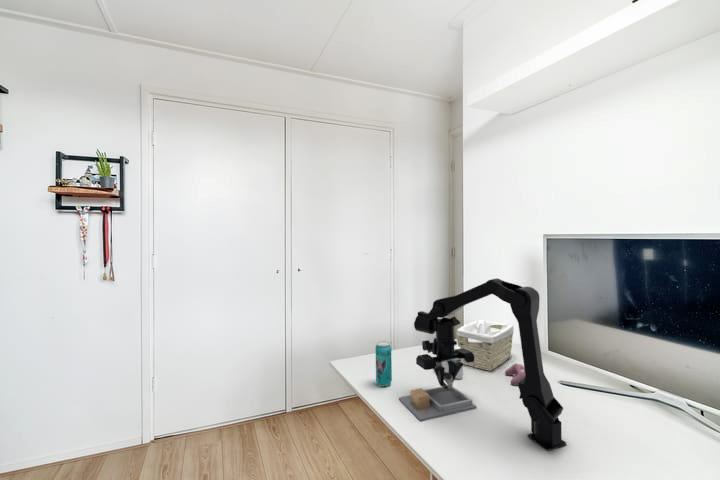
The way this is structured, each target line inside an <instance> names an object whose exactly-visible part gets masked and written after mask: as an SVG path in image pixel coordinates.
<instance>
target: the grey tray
mask: <svg viewBox="0 0 720 480" xmlns="http://www.w3.org/2000/svg"><path fill="white" fill-rule="evenodd" d="M446 385H447V384H446ZM447 386H448V385H447ZM398 401H400V402H401V403H402V404H403V405H404V407H405V408H406V409H408V410H409V412H410V413H412V415H413V416H414V417H415V418H417V420H418V421H420V422H424V421H428V420H431V419H437V418H440V417H444V416H449V415H453V414H458V413H461V412H463V413H464V412H467V411H471V410H475V409H477V405H476V404H474V403H473V399H471V398H470V397H469V396H467V395H465V394H464V393H463V392H461V391H460V390H458V389H457V388H455V387H454V386H453V387H452V390H448V391H447V390H445V389H444V388H443V387H442V386H437V387H432V388H427V389H423V388H421V387H420V388H415V389H410V395H405V396H400V397H398Z"/></svg>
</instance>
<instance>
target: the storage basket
mask: <svg viewBox="0 0 720 480" xmlns="http://www.w3.org/2000/svg"><path fill="white" fill-rule="evenodd" d="M491 328H492V329H496V330H497V331H491ZM513 335H514V324H513V323H512V324H511V323H504V322H500V321H493V320H487V319H479V320H478V319H477V320H475V321H472V322H470V323H467V324H465V325H462V326H460V327H459V328H457V329H456V341H457V346H459V347H460V348H461V349H462V348H464V349H467V350H469V351H471V352H472V353H473V354H474V362H469V363H467V362H466V361H465V360H464V358H463V364H464V366H465V365H466V366H469V367H473V368H476V369H481V370H484V371H489V372H491V371H493V370H494V369H496V368H497V367H499V366H500V365H502V364H503V363H505V362H506V361H507V360H509V359H510V358H511V357H512V356H511V355H512V347H513V338H514V337H513Z"/></svg>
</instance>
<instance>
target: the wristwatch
mask: <svg viewBox="0 0 720 480" xmlns="http://www.w3.org/2000/svg"><path fill="white" fill-rule="evenodd" d="M452 382H453V383H454V381H453V376H452V375H451V374H449V373H448V372H444V381H443V386H441V387H443V388H444V389H445V390H447V391H448V390H452V387H454V386H453V383H452ZM447 385H448V386H447Z"/></svg>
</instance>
